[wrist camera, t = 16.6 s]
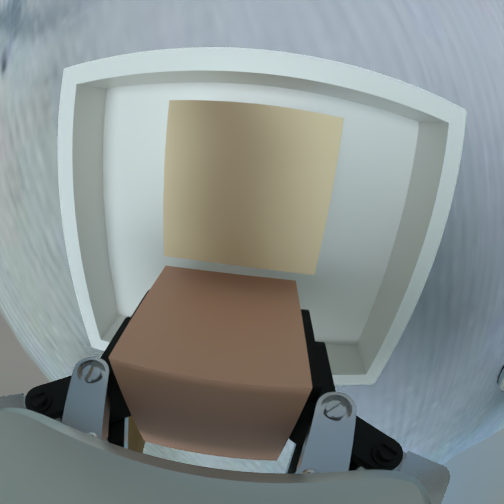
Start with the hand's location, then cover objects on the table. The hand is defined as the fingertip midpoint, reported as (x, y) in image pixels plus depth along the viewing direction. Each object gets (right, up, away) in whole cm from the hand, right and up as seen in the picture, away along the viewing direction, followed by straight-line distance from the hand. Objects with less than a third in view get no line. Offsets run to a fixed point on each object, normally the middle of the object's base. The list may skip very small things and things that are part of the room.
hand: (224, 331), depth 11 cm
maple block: (+1, +7, +1) cm, 7 cm away
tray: (+1, +5, +3) cm, 6 cm away
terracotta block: (0, 0, 0) cm, 0 cm away
